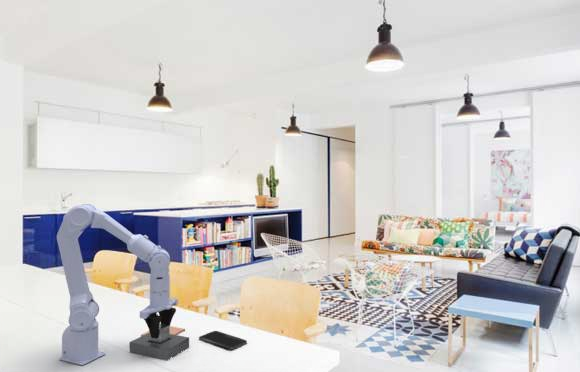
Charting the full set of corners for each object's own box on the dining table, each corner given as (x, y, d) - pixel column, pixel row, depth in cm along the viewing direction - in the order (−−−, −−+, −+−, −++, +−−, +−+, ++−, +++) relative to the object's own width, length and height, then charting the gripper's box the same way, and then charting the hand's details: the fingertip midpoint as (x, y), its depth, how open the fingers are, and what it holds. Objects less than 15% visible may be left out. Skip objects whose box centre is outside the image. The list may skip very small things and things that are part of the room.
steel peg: (149, 351, 119) (149, 327, 119) (159, 346, 123) (159, 323, 123) (160, 353, 118) (160, 329, 118) (169, 348, 121) (169, 325, 121)
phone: (230, 349, 119) (197, 337, 128) (230, 352, 119) (197, 340, 128) (248, 340, 126) (215, 330, 135) (248, 344, 126) (215, 333, 135)
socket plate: (129, 352, 118) (129, 342, 118) (153, 340, 128) (153, 330, 128) (167, 360, 113) (167, 349, 113) (189, 347, 122) (189, 337, 122)
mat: (140, 336, 131) (140, 334, 131) (161, 326, 140) (161, 324, 140) (165, 340, 127) (165, 339, 127) (185, 330, 136) (185, 328, 136)
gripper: (153, 298, 112) (153, 346, 112) (185, 285, 125) (185, 328, 125) (134, 295, 115) (134, 342, 115) (167, 283, 128) (167, 325, 128)
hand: (159, 335), depth 120 cm, fingers closed on steel peg, 4 cm apart
